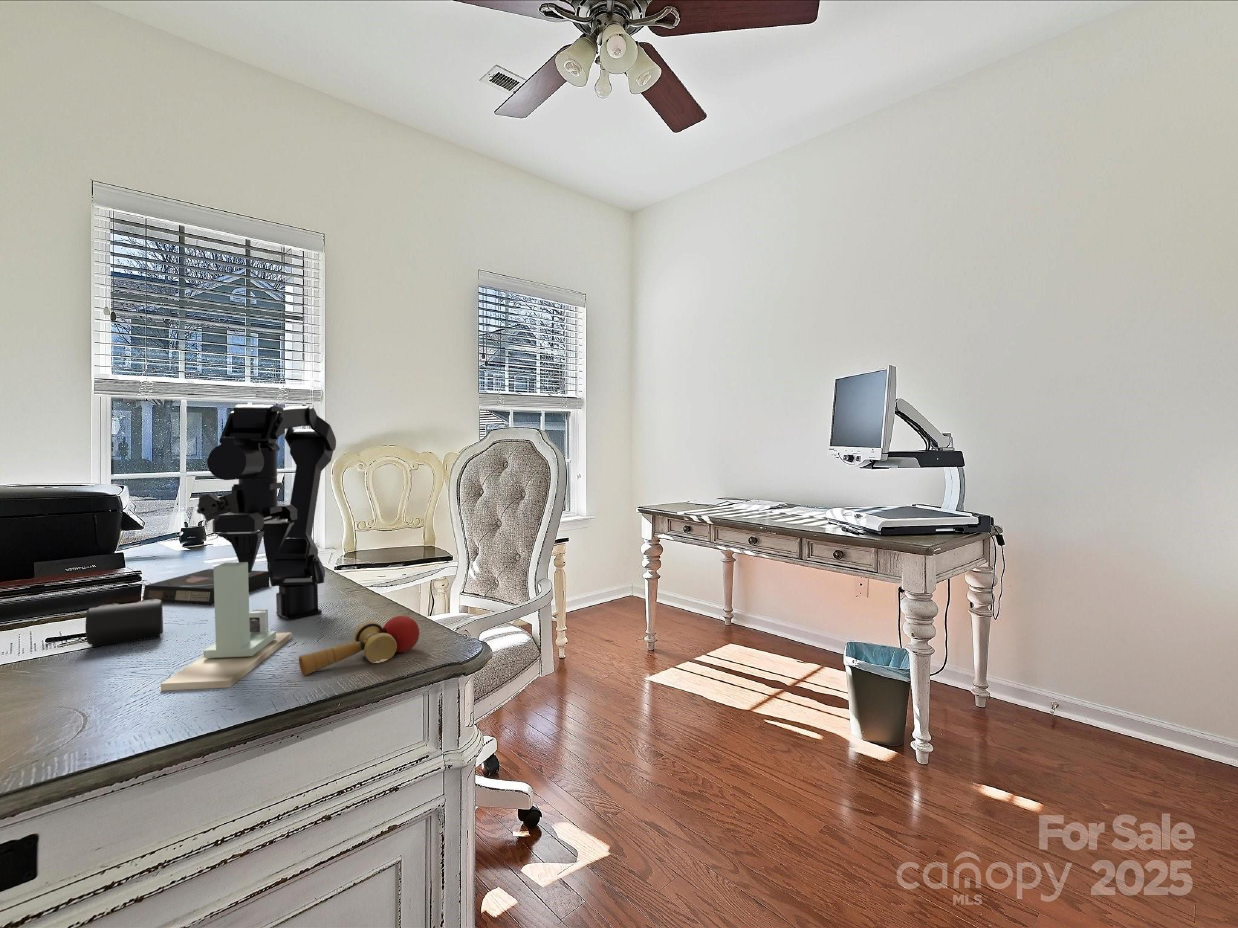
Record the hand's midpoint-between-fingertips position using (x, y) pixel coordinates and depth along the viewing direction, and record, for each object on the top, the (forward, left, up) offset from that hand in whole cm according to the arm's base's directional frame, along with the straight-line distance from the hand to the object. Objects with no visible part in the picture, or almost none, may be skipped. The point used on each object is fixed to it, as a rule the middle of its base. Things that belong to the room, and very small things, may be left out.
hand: (259, 567), depth 103 cm
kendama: (-7, +22, -13) cm, 27 cm away
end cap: (+15, -18, -13) cm, 27 cm away
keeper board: (+6, +7, -13) cm, 16 cm away
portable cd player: (-4, -44, -14) cm, 46 cm away
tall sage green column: (+5, +5, -12) cm, 14 cm away
